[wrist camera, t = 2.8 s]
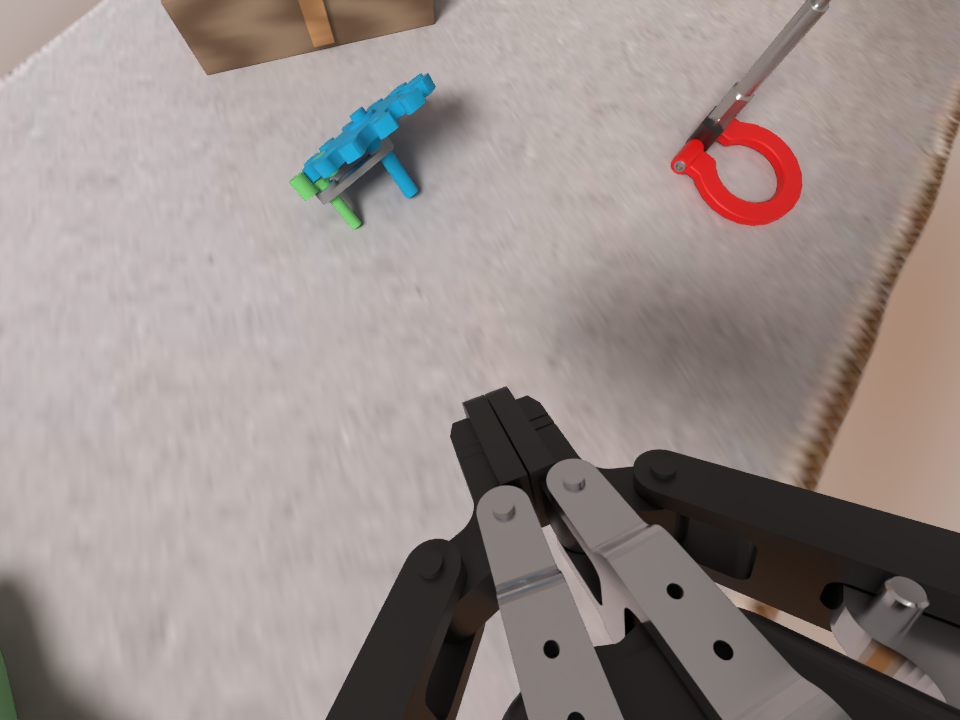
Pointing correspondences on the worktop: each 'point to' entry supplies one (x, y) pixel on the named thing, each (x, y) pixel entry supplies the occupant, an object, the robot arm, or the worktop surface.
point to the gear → (363, 148)
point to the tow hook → (749, 135)
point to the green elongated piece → (6, 694)
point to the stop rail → (285, 26)
